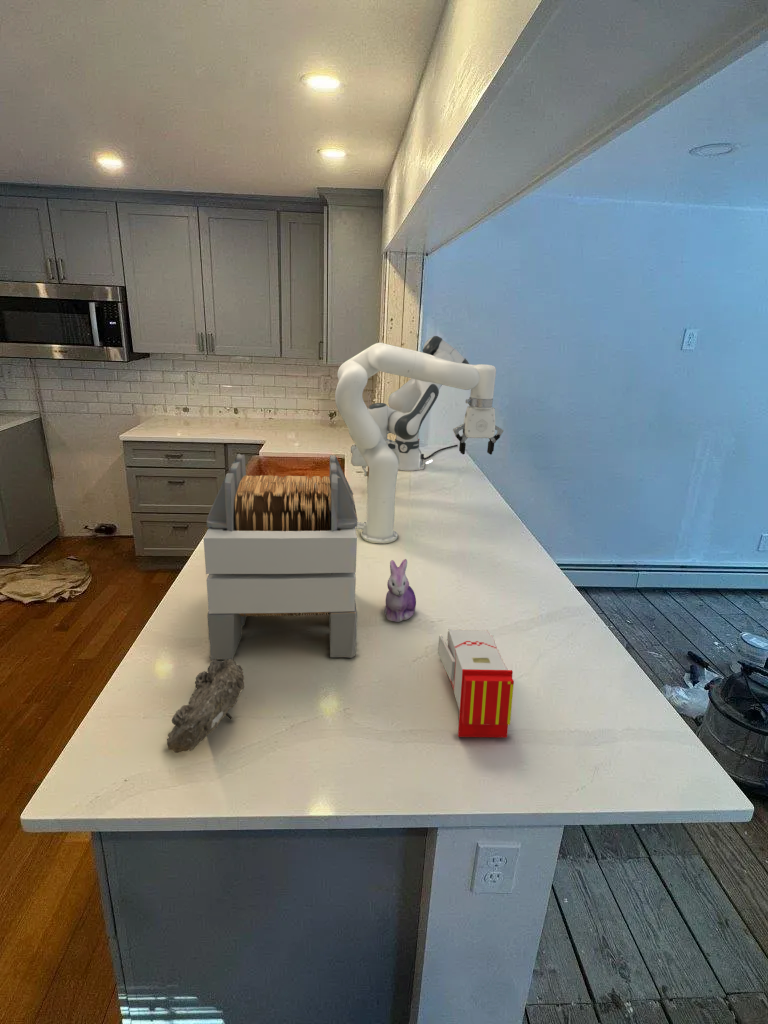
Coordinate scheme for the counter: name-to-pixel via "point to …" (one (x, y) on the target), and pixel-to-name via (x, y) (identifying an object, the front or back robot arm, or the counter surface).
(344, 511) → the grey record storage stand
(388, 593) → the figurine
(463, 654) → the toy
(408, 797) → the counter surface
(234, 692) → the fossil
